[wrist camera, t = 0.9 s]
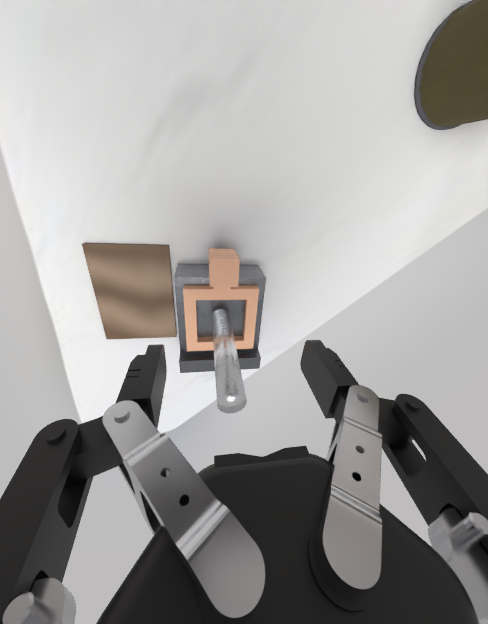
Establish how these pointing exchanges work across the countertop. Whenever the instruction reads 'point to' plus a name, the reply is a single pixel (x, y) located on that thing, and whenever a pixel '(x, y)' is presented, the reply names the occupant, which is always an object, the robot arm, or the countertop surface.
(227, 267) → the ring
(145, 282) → the board
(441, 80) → the canister
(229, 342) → the block
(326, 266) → the countertop surface
